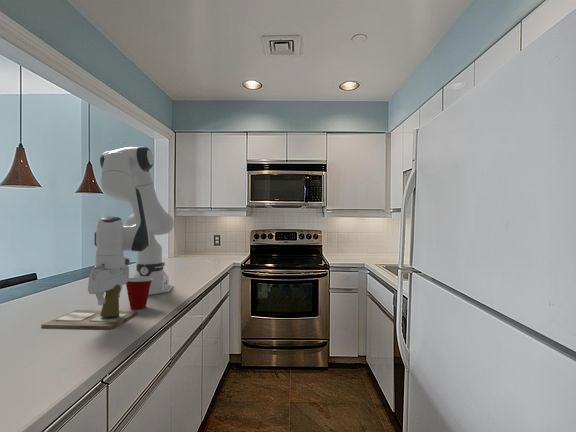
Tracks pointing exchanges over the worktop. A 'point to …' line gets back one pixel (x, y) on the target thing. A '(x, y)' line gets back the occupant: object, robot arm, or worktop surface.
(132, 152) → the robot arm
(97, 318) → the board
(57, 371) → the worktop surface
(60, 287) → the worktop surface
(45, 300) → the worktop surface
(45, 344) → the worktop surface
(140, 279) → the plastic cup
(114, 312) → the cork
